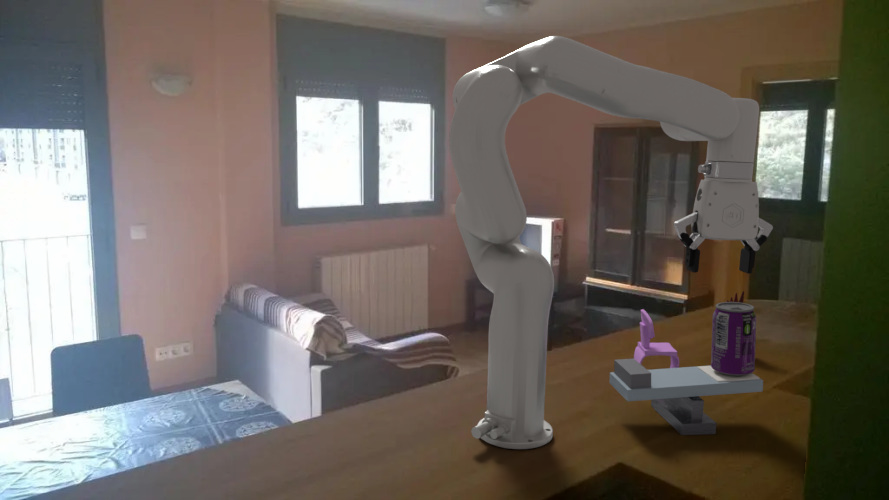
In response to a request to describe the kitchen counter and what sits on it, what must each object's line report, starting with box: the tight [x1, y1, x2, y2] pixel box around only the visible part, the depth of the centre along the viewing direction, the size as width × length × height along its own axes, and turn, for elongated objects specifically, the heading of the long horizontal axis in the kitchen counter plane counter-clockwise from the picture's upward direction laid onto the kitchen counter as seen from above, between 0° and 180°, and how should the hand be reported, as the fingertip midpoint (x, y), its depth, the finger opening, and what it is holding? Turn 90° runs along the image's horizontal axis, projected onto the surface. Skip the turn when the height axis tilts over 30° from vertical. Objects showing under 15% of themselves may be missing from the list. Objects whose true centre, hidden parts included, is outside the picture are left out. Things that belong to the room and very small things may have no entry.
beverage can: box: [710, 301, 757, 377], centre depth 122 cm, size 7×7×12 cm
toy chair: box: [633, 308, 680, 368], centre depth 142 cm, size 8×9×15 cm
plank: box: [609, 357, 764, 402], centre depth 122 cm, size 24×9×4 cm, turn 96°
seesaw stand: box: [650, 396, 717, 436], centre depth 123 cm, size 6×13×6 cm, turn 6°
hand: (718, 271), depth 120 cm, fingers open, 9 cm apart
